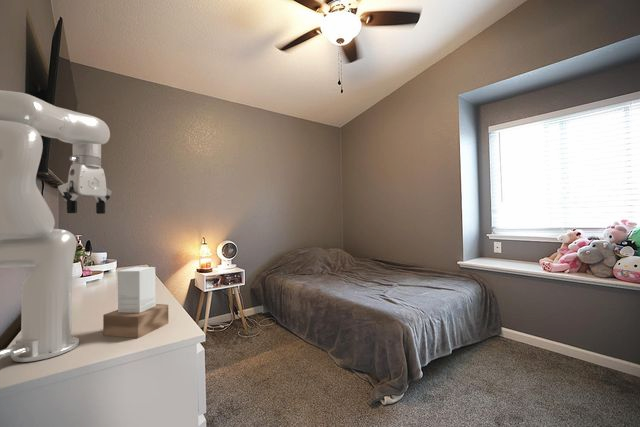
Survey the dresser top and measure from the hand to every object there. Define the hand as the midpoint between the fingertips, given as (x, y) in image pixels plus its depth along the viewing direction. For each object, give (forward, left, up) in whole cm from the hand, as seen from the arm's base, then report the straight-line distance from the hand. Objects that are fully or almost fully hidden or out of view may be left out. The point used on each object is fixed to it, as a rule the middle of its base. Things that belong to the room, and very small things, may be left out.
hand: (87, 213), depth 97 cm
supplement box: (-3, -23, -31) cm, 38 cm away
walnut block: (-3, -23, -36) cm, 43 cm away
